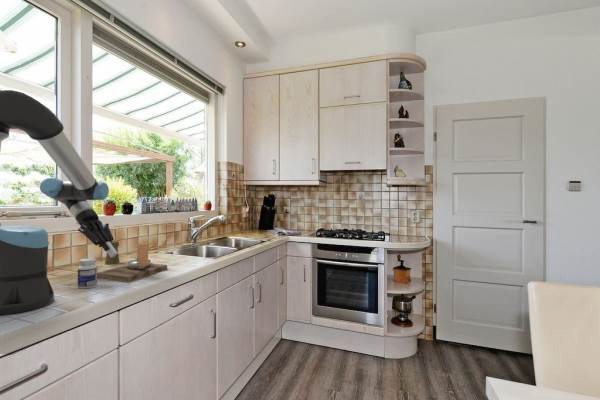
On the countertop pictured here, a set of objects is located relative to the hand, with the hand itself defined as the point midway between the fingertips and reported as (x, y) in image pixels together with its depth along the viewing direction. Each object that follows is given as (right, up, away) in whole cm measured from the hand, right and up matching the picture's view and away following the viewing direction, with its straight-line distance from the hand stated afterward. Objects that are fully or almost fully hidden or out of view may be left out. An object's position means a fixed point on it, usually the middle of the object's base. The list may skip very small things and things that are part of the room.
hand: (114, 255), depth 122 cm
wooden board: (+7, -8, +2) cm, 11 cm away
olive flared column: (-14, -8, +20) cm, 25 cm away
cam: (+8, -6, +5) cm, 11 cm away
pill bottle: (+1, -8, -17) cm, 19 cm away
